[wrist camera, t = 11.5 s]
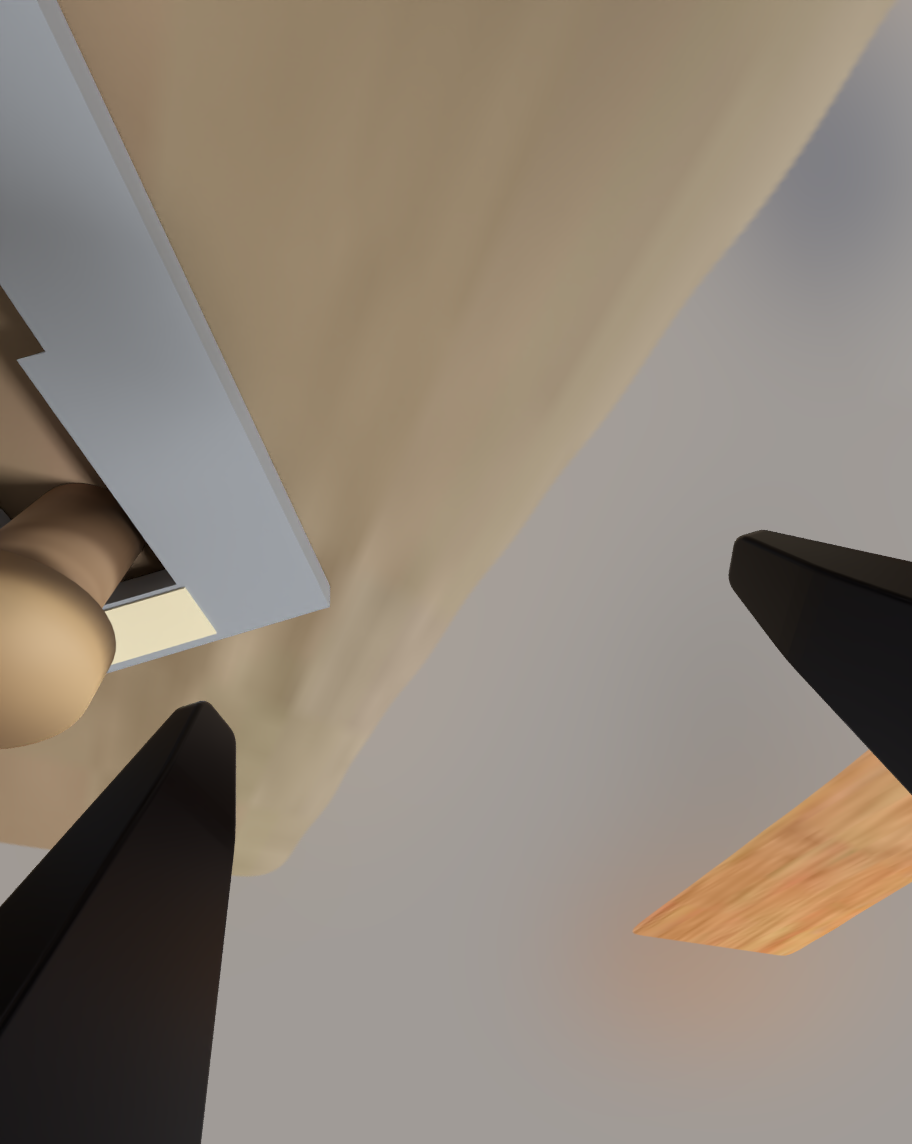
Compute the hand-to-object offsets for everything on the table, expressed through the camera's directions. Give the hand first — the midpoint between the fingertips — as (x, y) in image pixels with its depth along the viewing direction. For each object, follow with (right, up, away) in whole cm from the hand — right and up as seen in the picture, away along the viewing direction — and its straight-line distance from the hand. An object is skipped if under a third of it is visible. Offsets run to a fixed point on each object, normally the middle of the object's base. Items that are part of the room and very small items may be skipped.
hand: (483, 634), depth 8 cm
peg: (-14, +3, +9) cm, 17 cm away
